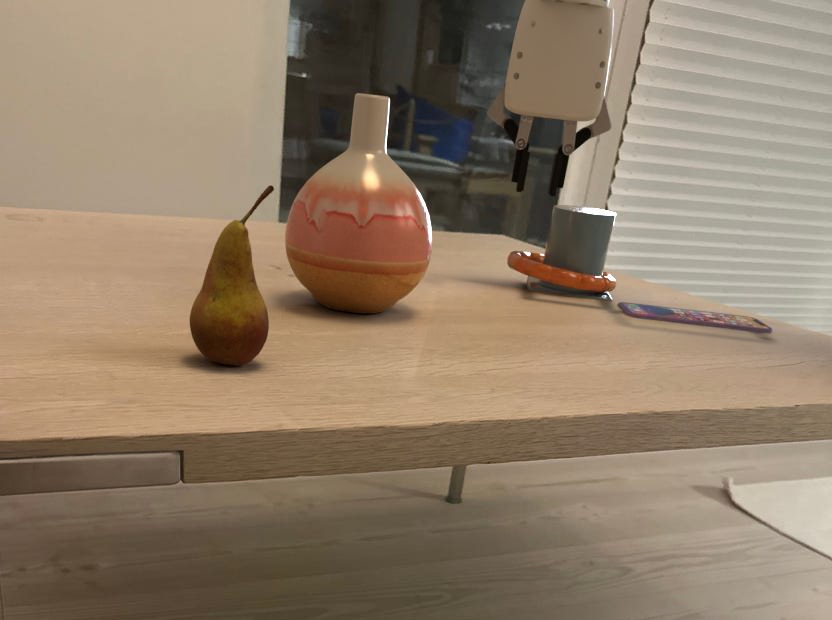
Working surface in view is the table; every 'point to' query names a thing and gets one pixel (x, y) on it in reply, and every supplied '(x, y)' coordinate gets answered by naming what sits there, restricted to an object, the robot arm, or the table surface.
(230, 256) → the fruit
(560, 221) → the cylinder on square base
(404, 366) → the table surface
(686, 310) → the smartphone
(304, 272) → the vase
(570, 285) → the ring
